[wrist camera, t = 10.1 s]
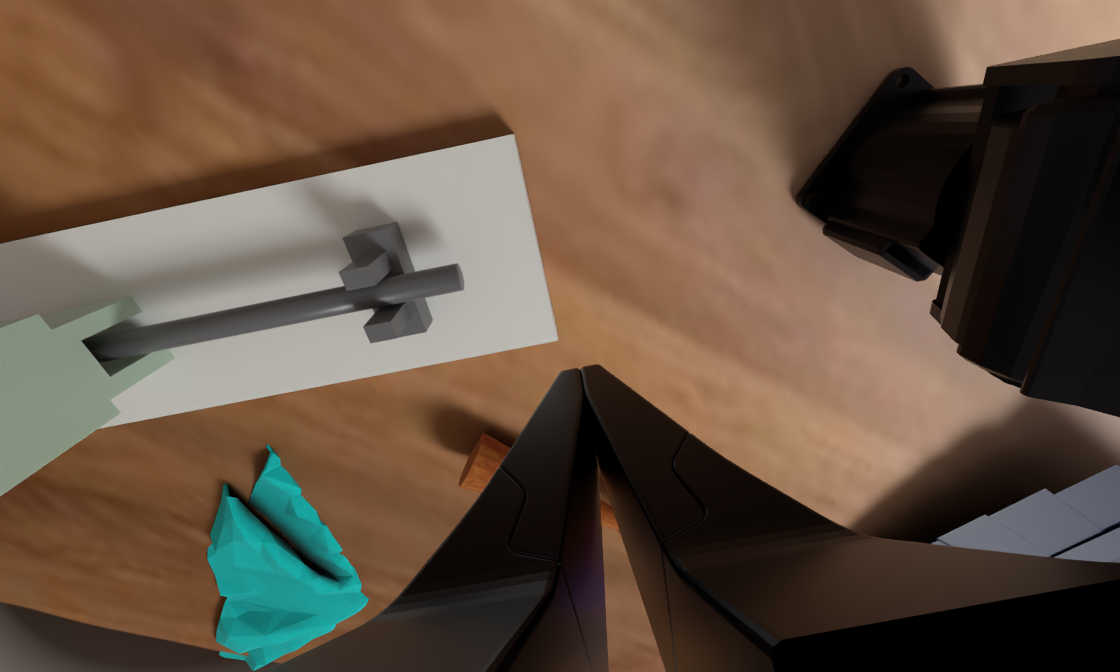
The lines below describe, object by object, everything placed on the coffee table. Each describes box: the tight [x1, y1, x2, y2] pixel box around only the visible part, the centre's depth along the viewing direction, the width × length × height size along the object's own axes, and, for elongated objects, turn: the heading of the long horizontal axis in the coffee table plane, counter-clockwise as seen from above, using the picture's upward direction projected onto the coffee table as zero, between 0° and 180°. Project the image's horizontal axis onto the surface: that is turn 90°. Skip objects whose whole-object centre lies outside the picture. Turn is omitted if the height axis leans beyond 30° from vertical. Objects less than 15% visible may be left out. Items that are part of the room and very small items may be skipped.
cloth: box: [207, 444, 369, 671], centre depth 31 cm, size 26×14×2 cm, turn 148°
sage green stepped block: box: [0, 296, 175, 496], centre depth 16 cm, size 4×5×10 cm
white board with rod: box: [0, 134, 558, 429], centre depth 19 cm, size 30×10×5 cm, turn 101°
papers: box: [928, 464, 1120, 562], centre depth 35 cm, size 24×30×4 cm
